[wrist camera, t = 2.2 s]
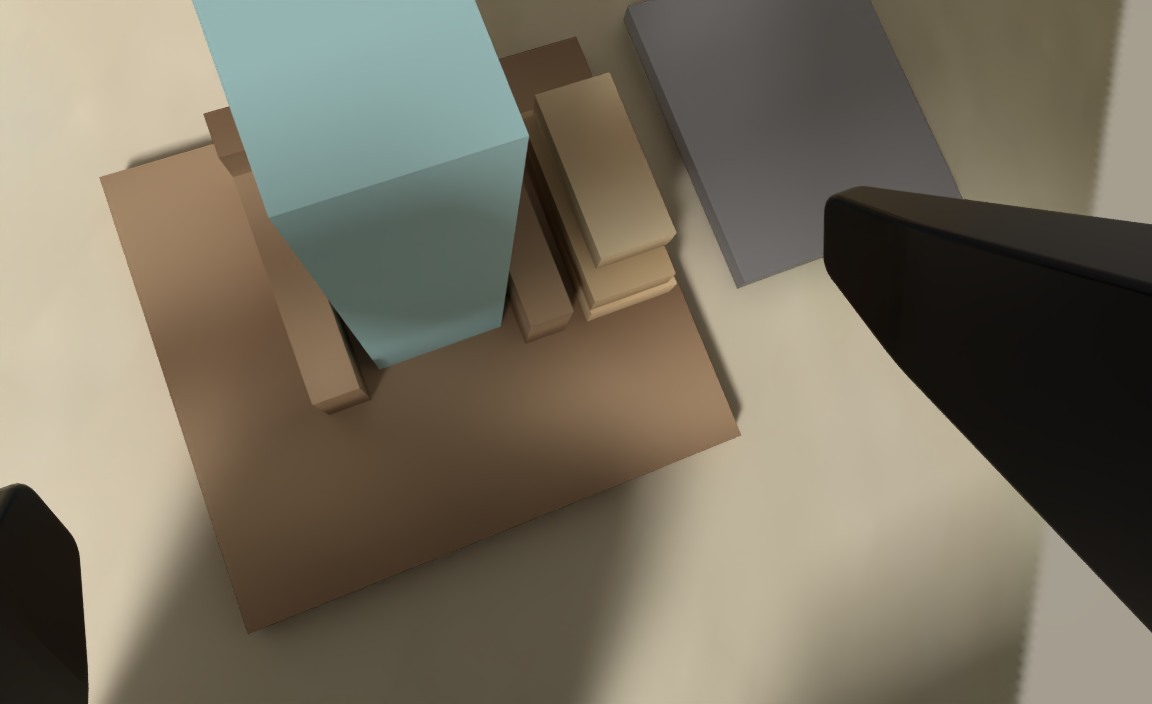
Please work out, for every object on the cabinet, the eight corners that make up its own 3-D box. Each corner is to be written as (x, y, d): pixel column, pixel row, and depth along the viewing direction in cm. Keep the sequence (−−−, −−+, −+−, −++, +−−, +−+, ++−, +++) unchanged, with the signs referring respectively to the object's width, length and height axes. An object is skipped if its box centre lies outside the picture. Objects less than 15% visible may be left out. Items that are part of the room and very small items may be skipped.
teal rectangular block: (501, 326, 20) (528, 135, 9) (379, 369, 19) (268, 218, 9) (443, 176, 20) (410, -162, 10) (323, 214, 20) (156, -102, 9)
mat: (951, 209, 23) (964, 201, 22) (737, 288, 21) (744, 282, 21) (834, -43, 23) (843, -57, 23) (623, 19, 22) (627, 6, 22)
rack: (731, 437, 21) (787, 423, 17) (257, 628, 19) (203, 659, 15) (572, 53, 22) (592, -39, 18) (114, 190, 20) (31, 118, 16)
